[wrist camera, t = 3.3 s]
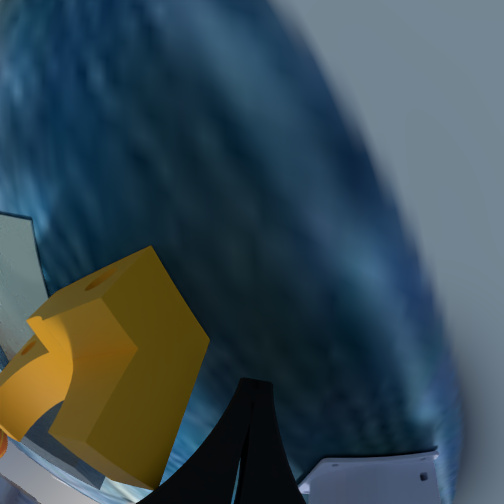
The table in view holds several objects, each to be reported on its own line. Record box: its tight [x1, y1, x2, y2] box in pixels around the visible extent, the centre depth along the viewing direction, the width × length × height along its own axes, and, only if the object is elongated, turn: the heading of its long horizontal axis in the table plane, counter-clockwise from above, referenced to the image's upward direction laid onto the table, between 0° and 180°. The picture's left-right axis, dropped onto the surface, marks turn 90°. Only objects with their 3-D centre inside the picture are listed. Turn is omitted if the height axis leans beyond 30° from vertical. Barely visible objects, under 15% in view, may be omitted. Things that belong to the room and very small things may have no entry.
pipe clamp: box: [0, 246, 210, 490], centre depth 9 cm, size 12×4×6 cm, turn 114°
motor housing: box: [0, 214, 106, 490], centre depth 13 cm, size 13×22×5 cm, turn 173°
